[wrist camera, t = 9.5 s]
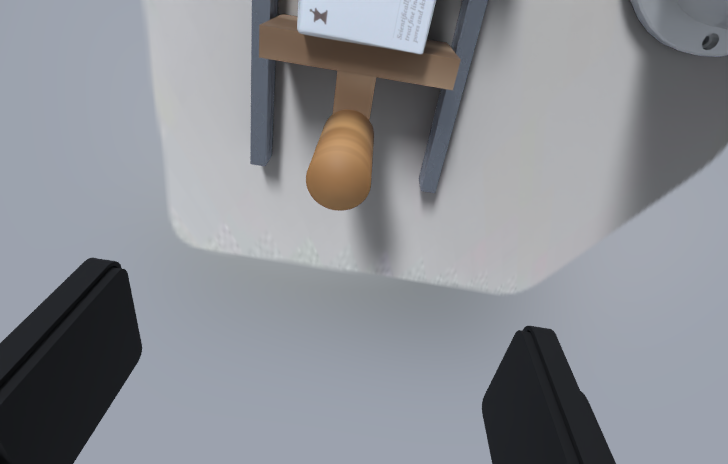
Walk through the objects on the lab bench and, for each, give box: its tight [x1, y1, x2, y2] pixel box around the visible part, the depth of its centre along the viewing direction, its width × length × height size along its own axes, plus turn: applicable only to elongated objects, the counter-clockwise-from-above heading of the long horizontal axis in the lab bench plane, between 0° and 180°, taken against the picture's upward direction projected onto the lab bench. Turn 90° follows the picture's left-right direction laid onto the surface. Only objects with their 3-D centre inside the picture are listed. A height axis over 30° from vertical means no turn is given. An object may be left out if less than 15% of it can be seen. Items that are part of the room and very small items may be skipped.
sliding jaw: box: [259, 14, 461, 210], centre depth 22 cm, size 6×10×12 cm, turn 81°
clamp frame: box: [251, 0, 488, 193], centre depth 23 cm, size 18×13×6 cm
